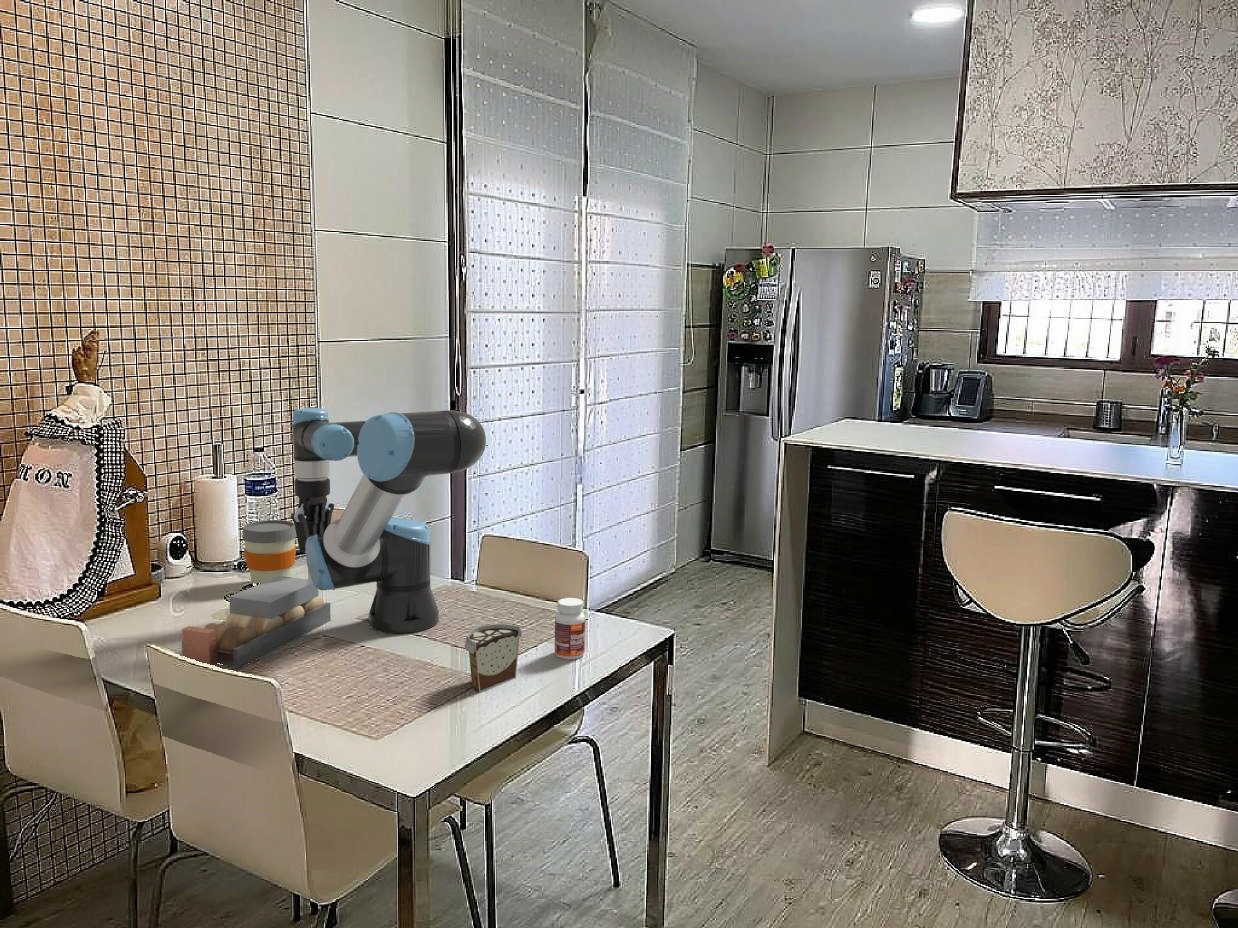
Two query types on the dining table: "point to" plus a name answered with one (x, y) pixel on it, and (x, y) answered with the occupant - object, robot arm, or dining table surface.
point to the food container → (493, 655)
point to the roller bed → (204, 648)
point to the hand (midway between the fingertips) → (315, 579)
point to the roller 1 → (231, 636)
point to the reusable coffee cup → (269, 549)
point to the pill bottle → (570, 629)
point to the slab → (273, 597)
